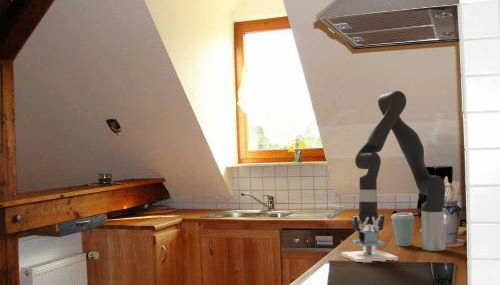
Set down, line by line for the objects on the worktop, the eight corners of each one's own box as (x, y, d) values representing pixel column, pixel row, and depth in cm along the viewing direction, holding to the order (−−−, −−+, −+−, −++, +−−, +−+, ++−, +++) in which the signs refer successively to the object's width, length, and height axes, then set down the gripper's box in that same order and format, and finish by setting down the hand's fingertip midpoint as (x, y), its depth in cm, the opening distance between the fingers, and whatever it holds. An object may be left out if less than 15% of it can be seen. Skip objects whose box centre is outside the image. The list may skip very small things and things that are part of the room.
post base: (380, 253, 247) (380, 238, 247) (397, 260, 231) (397, 244, 231) (341, 255, 243) (341, 240, 243) (356, 262, 227) (356, 246, 227)
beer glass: (378, 249, 257) (378, 216, 257) (377, 252, 250) (377, 218, 250) (362, 249, 259) (362, 215, 259) (361, 251, 252) (361, 217, 252)
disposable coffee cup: (405, 247, 260) (405, 215, 261) (386, 245, 269) (386, 213, 269) (419, 245, 267) (419, 213, 267) (400, 242, 275) (399, 211, 276)
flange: (374, 241, 243) (374, 229, 243) (385, 245, 233) (384, 233, 233) (352, 242, 241) (352, 230, 241) (362, 246, 231) (362, 233, 231)
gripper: (380, 199, 243) (380, 238, 242) (348, 199, 239) (348, 240, 239) (388, 200, 235) (388, 241, 235) (355, 201, 232) (356, 242, 232)
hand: (368, 240), depth 237 cm, fingers closed on flange, 5 cm apart
